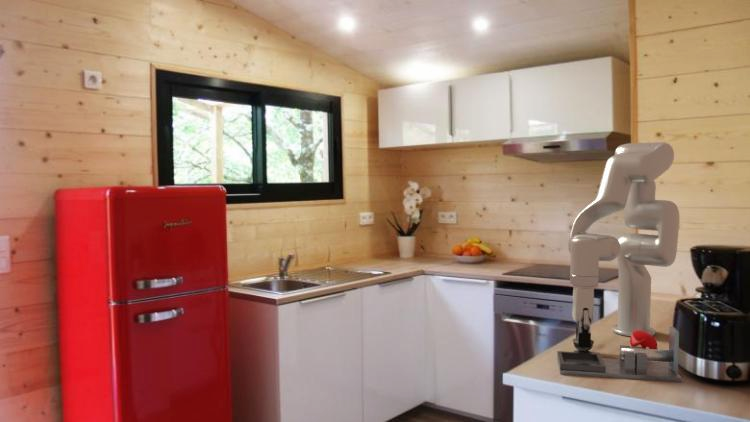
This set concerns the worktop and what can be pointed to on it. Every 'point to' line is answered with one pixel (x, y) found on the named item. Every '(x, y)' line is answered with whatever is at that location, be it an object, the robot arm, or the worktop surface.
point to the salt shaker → (580, 349)
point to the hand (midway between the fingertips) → (583, 343)
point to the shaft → (661, 351)
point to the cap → (643, 340)
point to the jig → (615, 366)
